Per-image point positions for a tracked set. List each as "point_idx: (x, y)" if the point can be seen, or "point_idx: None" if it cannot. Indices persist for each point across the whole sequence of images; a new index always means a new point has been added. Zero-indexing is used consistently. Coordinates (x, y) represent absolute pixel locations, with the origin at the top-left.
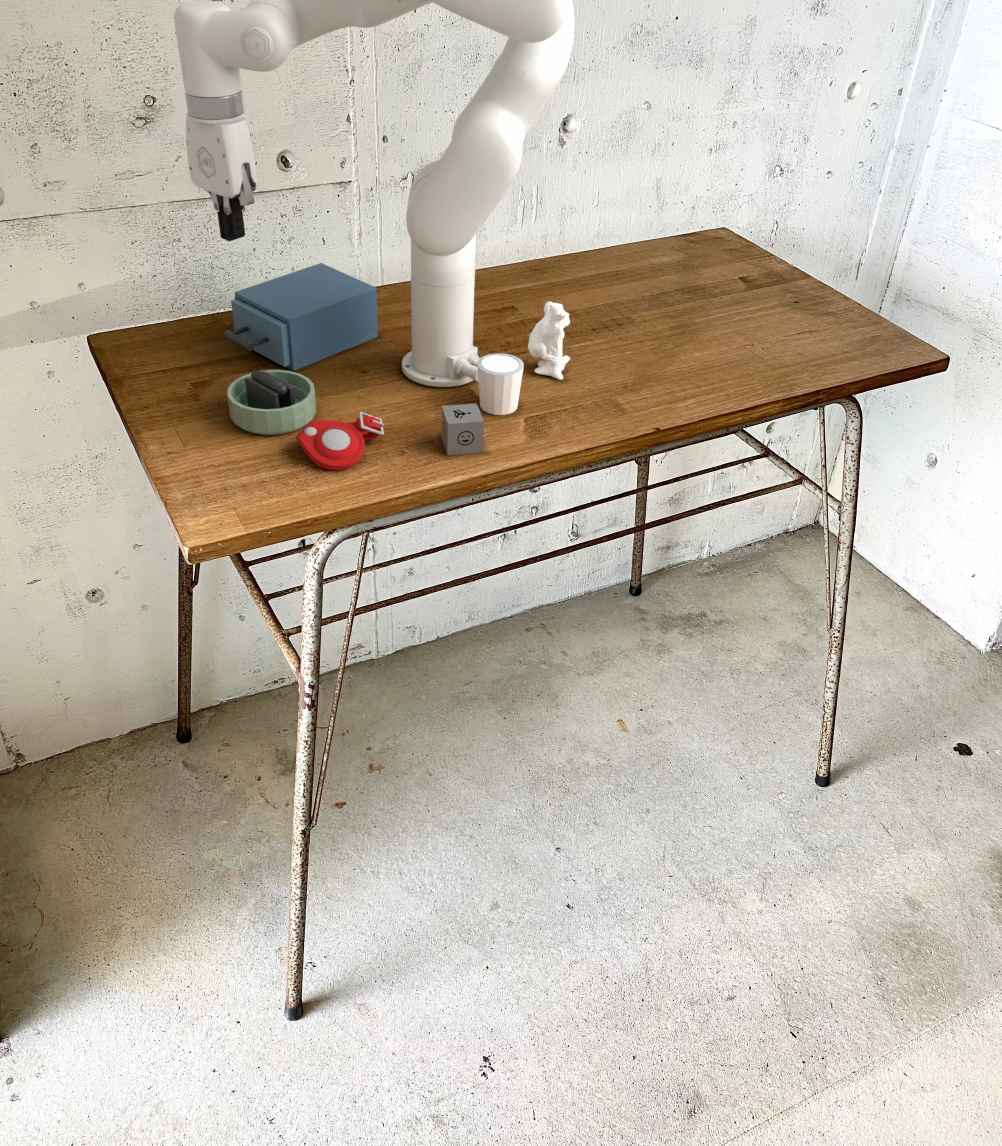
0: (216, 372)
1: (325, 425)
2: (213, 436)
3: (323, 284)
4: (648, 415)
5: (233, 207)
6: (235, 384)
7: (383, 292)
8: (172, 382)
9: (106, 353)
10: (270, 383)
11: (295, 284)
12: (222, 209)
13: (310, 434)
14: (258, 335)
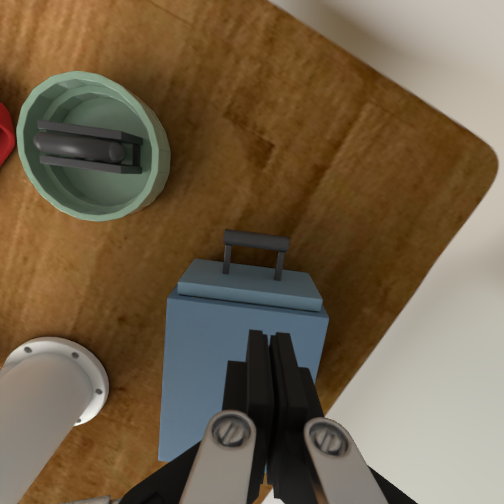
0: (270, 195)
1: None
2: (124, 46)
3: None
4: None
5: (184, 465)
6: (146, 127)
7: (263, 479)
8: (298, 128)
9: (453, 127)
10: (60, 136)
11: None
12: (297, 437)
13: None
14: (249, 275)
